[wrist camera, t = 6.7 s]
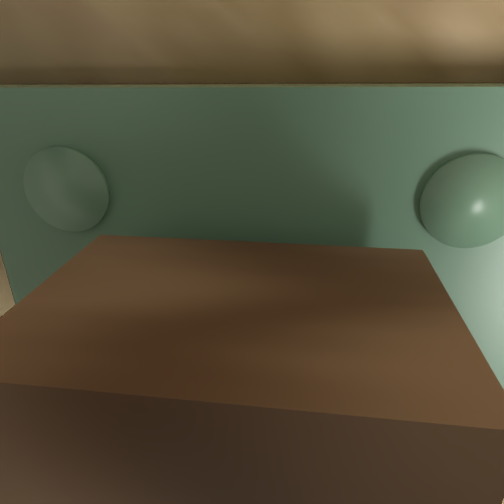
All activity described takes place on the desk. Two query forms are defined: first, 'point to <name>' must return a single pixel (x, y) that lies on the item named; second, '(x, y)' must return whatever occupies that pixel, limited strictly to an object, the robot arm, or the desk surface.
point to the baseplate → (262, 175)
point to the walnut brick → (245, 380)
